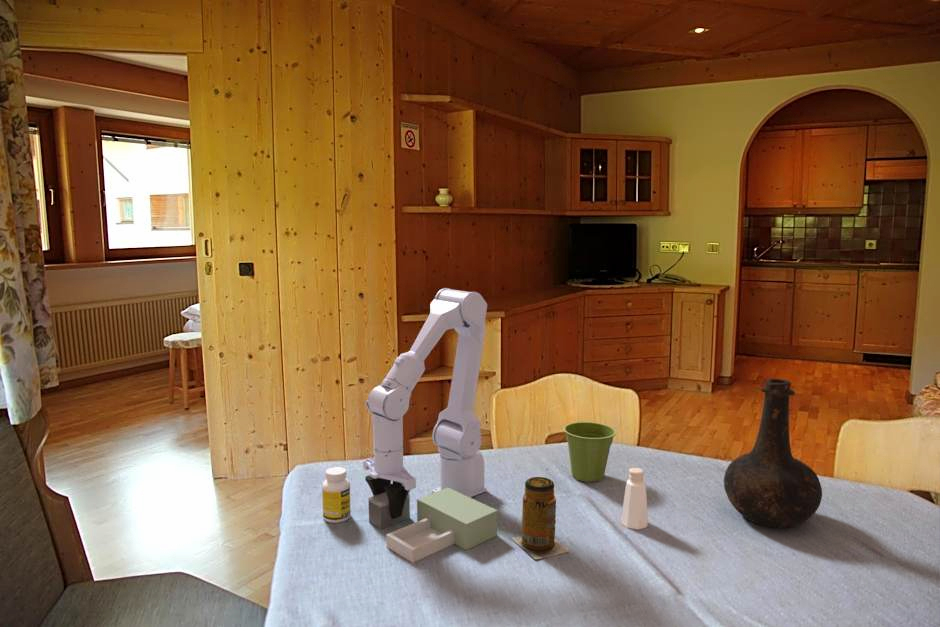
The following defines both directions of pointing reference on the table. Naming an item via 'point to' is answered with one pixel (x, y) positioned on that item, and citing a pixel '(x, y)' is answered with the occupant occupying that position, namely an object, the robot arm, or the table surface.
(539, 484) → the condiment
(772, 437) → the glass bottle
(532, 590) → the table surface
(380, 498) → the grey rectangular block
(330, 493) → the supplement bottle
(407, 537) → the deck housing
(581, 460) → the plant pot
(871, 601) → the table surface
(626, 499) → the salt shaker
